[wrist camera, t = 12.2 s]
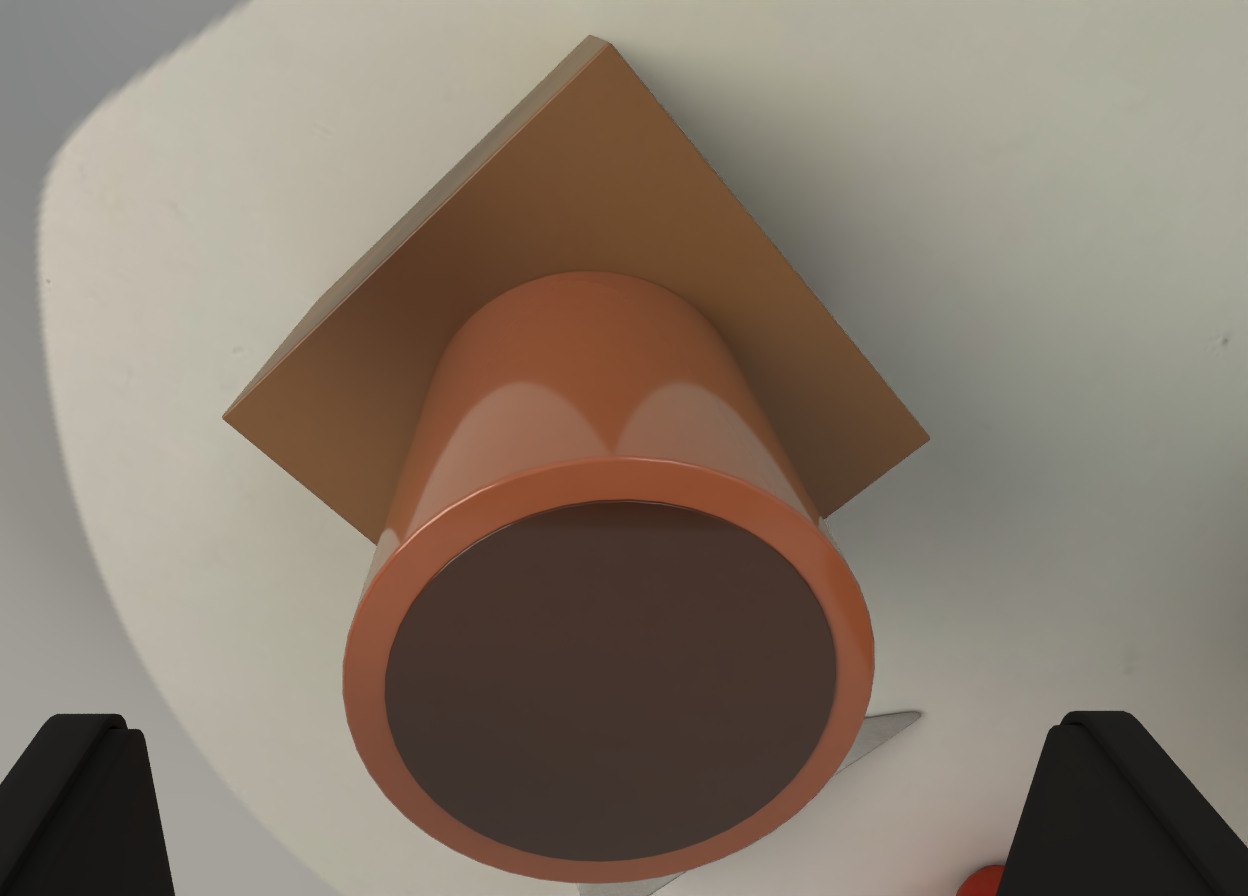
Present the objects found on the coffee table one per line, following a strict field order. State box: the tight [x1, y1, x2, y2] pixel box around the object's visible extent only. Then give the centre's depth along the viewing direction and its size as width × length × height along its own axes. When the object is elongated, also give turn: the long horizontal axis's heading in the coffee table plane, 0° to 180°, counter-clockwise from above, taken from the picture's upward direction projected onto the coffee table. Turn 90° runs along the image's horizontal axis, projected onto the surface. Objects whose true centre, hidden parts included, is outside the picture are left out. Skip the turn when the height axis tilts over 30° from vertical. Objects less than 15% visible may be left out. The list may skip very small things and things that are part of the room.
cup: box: [342, 271, 875, 884], centre depth 15 cm, size 6×6×8 cm
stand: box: [222, 35, 930, 546], centre depth 22 cm, size 10×10×8 cm
